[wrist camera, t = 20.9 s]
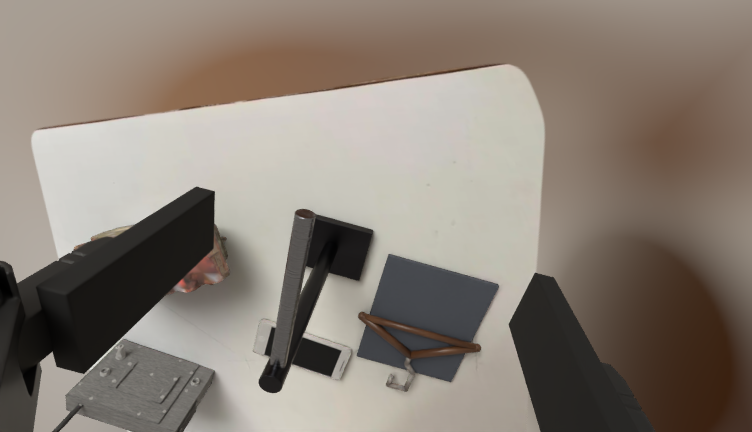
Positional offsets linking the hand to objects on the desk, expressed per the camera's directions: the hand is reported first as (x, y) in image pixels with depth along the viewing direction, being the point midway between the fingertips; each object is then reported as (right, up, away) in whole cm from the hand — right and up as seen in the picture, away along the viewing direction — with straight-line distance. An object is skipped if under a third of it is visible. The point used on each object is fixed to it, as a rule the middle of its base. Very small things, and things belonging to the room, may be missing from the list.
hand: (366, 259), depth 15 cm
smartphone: (-12, -20, +46) cm, 51 cm away
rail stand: (-4, +3, +34) cm, 34 cm away
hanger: (+7, -15, +40) cm, 43 cm away
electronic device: (-37, -24, +50) cm, 67 cm away
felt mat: (+7, -14, +40) cm, 44 cm away
